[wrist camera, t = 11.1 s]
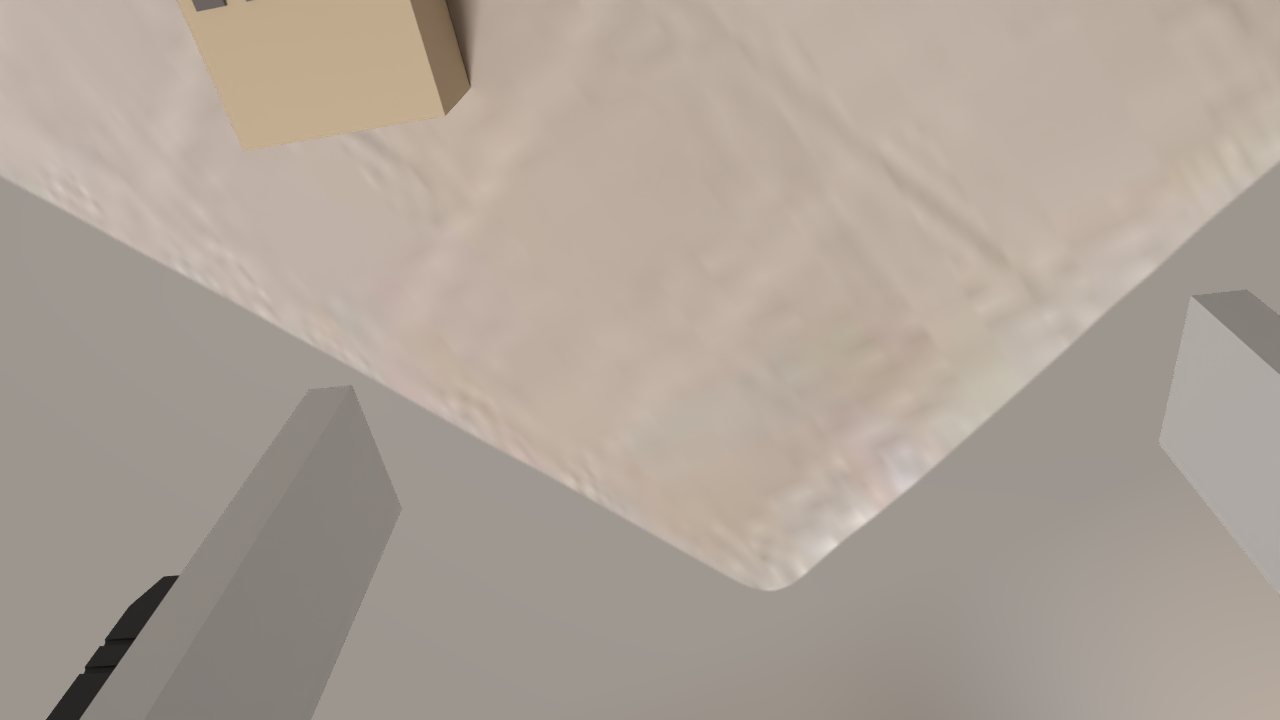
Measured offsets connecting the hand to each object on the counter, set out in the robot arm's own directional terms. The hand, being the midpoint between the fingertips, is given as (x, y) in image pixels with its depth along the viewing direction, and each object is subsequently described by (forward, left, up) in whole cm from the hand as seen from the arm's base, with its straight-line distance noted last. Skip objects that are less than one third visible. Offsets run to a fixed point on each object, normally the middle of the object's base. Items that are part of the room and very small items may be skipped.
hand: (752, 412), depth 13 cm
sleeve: (+16, -3, -27) cm, 31 cm away
